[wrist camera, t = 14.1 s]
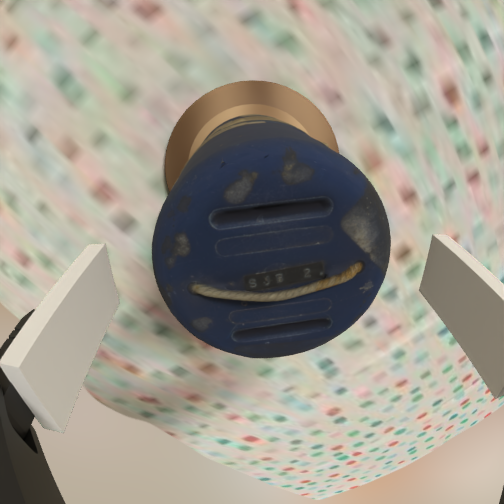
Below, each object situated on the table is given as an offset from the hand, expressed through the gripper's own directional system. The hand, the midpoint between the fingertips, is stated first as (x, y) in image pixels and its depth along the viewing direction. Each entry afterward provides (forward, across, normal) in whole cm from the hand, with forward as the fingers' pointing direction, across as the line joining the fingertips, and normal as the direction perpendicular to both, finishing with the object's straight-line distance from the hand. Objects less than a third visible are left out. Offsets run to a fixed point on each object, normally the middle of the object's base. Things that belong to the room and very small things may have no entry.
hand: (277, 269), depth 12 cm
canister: (+16, 0, 0) cm, 16 cm away
